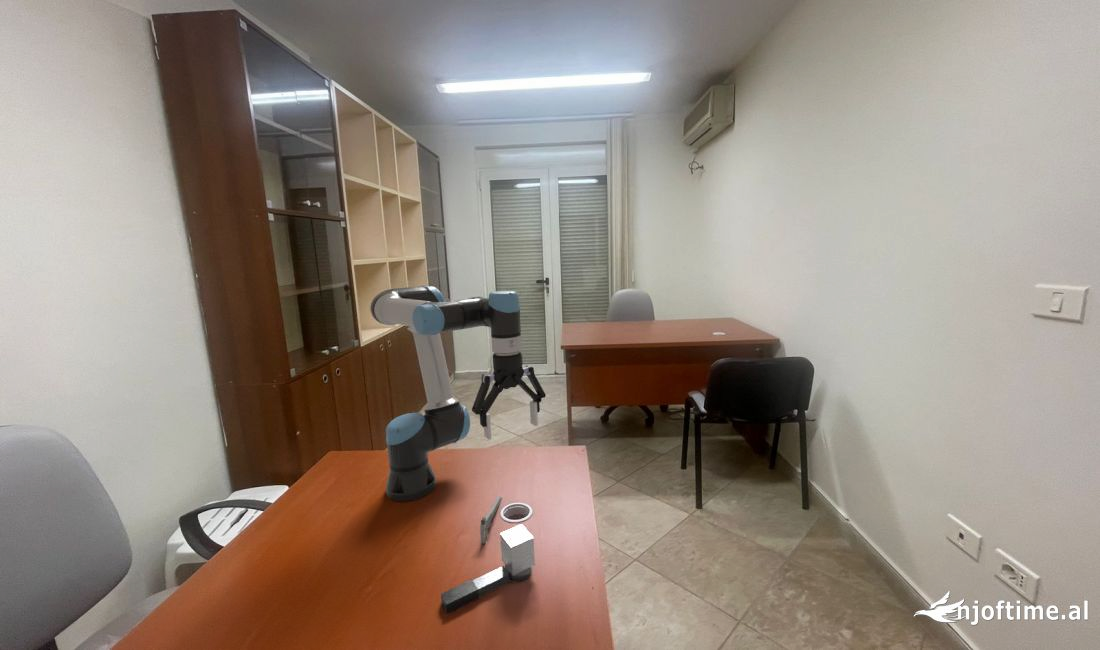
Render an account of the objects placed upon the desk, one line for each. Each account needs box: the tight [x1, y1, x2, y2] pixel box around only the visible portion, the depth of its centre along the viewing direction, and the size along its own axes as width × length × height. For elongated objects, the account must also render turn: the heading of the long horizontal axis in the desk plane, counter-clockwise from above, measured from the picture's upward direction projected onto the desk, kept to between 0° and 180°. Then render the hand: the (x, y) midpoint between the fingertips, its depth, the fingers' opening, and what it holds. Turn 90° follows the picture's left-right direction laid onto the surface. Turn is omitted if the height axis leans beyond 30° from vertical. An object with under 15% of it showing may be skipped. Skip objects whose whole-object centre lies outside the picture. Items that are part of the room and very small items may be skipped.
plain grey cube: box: [499, 524, 536, 575], centre depth 93 cm, size 6×6×7 cm
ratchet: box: [440, 564, 532, 615], centre depth 90 cm, size 6×20×6 cm, turn 122°
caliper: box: [479, 496, 503, 545], centre depth 113 cm, size 20×1×6 cm, turn 174°
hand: (511, 430), depth 107 cm, fingers open, 13 cm apart
